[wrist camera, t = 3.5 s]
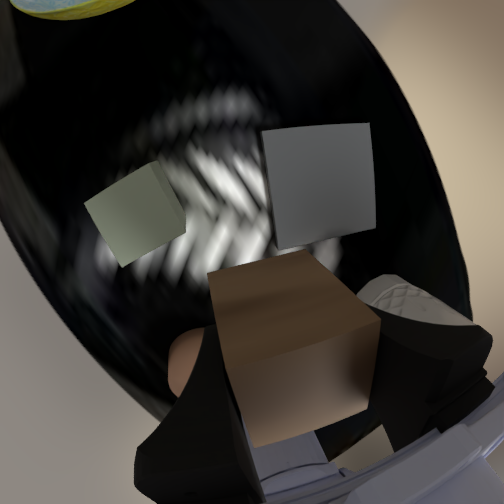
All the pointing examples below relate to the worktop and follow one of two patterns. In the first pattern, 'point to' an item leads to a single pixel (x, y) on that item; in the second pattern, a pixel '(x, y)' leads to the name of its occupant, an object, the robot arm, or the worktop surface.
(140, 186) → the sage cube
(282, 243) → the plate
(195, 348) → the brown rounded disc
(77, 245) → the worktop surface
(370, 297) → the white cup
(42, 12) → the bowl
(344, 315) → the walnut block
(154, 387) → the worktop surface
